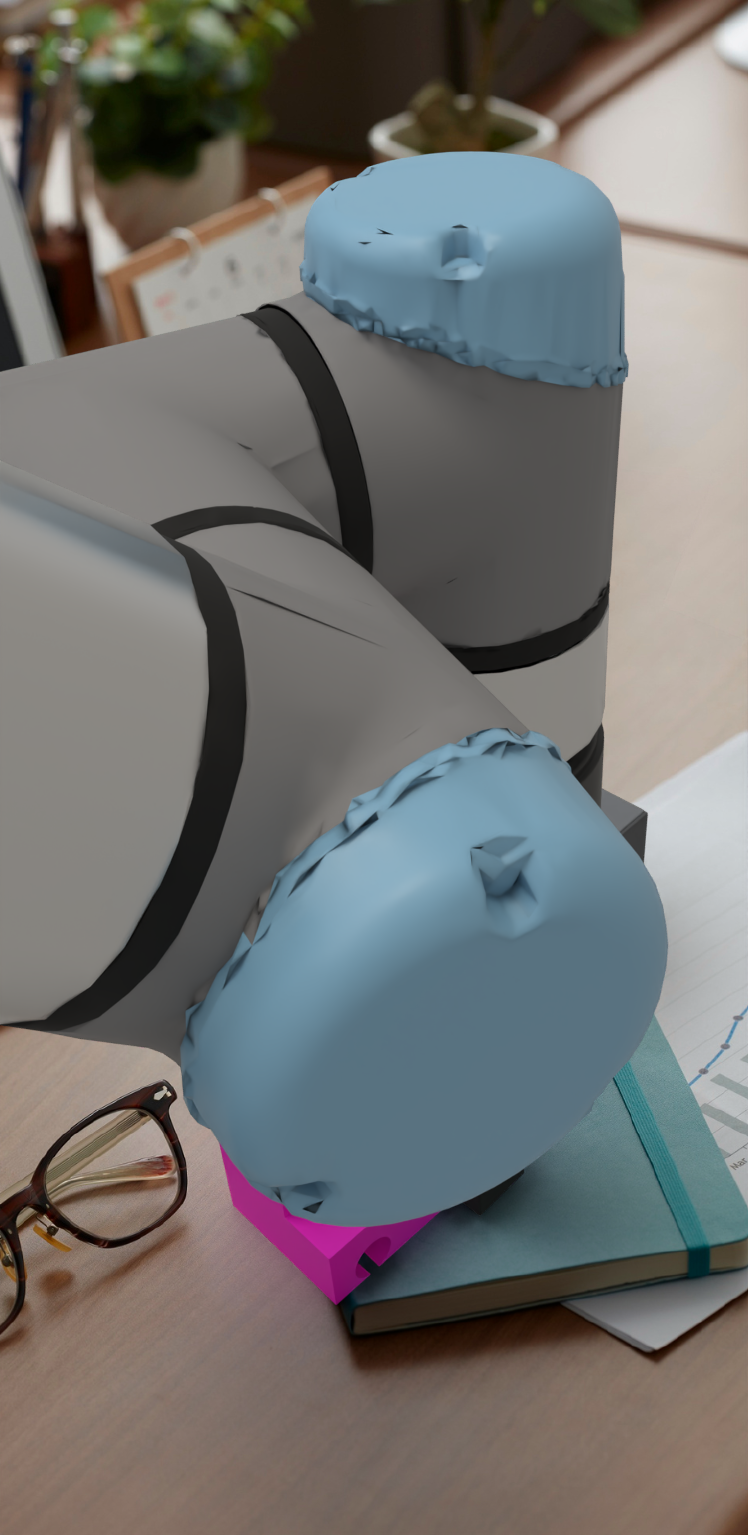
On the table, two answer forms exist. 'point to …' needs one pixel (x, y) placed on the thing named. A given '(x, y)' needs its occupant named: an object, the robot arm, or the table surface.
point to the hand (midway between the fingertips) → (488, 1183)
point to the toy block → (319, 1238)
